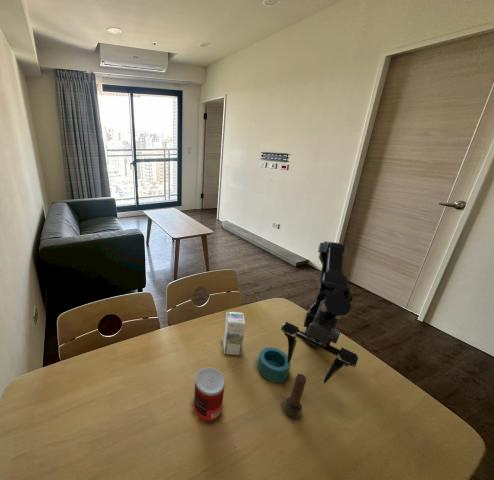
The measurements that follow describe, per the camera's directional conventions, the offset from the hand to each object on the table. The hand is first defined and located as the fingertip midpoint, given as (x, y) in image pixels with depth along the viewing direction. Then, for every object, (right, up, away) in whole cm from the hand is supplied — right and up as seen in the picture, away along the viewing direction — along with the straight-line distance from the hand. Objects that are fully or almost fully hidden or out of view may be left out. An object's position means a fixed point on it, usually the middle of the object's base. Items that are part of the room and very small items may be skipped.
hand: (305, 372), depth 68 cm
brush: (-3, -11, +1) cm, 12 cm away
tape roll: (-4, -6, +14) cm, 15 cm away
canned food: (-27, -11, +2) cm, 29 cm away
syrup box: (-15, -3, +21) cm, 27 cm away
